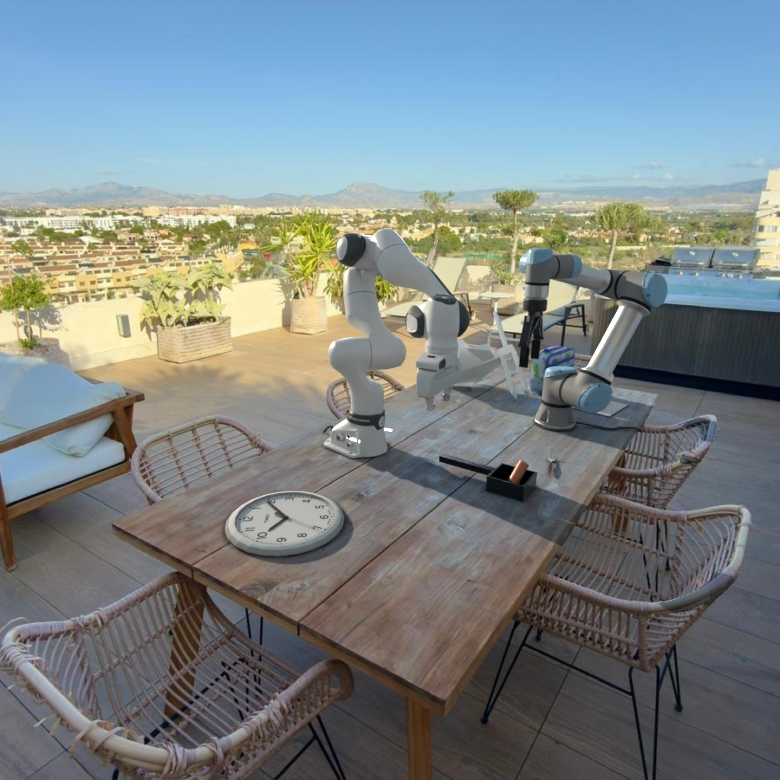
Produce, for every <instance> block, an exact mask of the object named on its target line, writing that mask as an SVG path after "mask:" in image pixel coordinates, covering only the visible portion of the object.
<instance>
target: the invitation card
mask: <svg viewBox="0 0 780 780" xmlns="http://www.w3.org/2000/svg"><path fill="white" fill-rule="evenodd" d="M628 406H629V404H627V403H623V402H618V401H614V400H611V401H610V403H609V404H608V406H607V407H606V408H605V409H603V410H602V411H600V412H597V413H595V414H596V415H600V416H604V417H608V418H609V417H611V416H613V415H614V414H616V413H617V412H619V411H621V410H623V409H624V408H626V407H628ZM573 409H575V410H579V409H578V408H576V407H573Z"/></svg>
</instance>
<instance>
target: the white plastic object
mask: <svg viewBox="0 0 780 780" xmlns="http://www.w3.org/2000/svg"><path fill="white" fill-rule="evenodd" d="M492 315H493V319H494V321H495V324H496V325H495V326H496V328H497V332H498V335H499V338H500V342H501V345H502V347H500V348H498V349H496V350H495V349H493V348H492V347H491V346H490V344H489V343H488V342H487V343H483V344H479V345H473V346H469V345H468V343H466V342H465V340H464V339H463V338H460V339H458V338H457V342H458V358H459V359H460V380H459V382H458V383H456V384H455V385H458V384H467V383H468V384H469V383H473V384H477V383H480V382H482V381H484V378H485V377H486V376H487V375H489V374H490V373H492V372H494V371H495V370H496V369H497V368H499V367H500V366H502V370H503V373H504V376H505V380H506V383H507V386H508V390H509V393H510V394H511V395H512V397H513V398H514V399H515V400H517V392H516V391H517V390H516V388H515V385H514V381H513V378H512V375H511V371H510V369H509V365H508V361H510V360H513V363H514V366H515V369H516V372H517V376H518V380H519V382H520V385H521V389H522V391H523V393H524V395H525V396H526V397H528V396H531V395H530V389H529V388H528V387H529V386H528V384H527V381H526V378H525V375H524V371H523V369H522V368H523V367H519V360H520V358H519V355H518V352H517V349H516V347H515V346H514V345H513V343H511V344H508V341H507V337H506V334H505V331H504V328H503V325H502V321H501V318H500V315H499V314H498V312H497V311H496V310H495V311H492Z"/></svg>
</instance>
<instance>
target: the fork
mask: <svg viewBox="0 0 780 780" xmlns="http://www.w3.org/2000/svg"><path fill="white" fill-rule="evenodd" d="M547 460H548V461H549V464H548V475H550V474H551V471H552V469H553V462H556V460H557V453H555V452H553V450H550V449H549V450H548V456H547Z"/></svg>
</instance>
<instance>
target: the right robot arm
mask: <svg viewBox="0 0 780 780" xmlns="http://www.w3.org/2000/svg"><path fill="white" fill-rule="evenodd" d="M518 267H519V270H520V271H521V273H523V274H524V275H525V278H524V279H525V280H524V286H522V290H524V291H523V296H524V298H523V300H522V310H523V311H525V312H528V313H527V315H524V317H523V324H522V329H521V333H520V337H519V342H518V344H517V347H518V348H520V351H519V367H521V368H526V369H528V367H529V361H530V359H531V360H532V359H539V354H540V351H541V343H542V341H544V338H545V336H544V317H543V316H544V313H545V312H547V310H548V303H549V300H548V298H549V294H550V293H549V292H550V282H551V280H553V281H556V282H560V283H564V284H567V285H572V286H575V287H579V288H582V289H583V288H584V289H587V290H589V291H591V293H592V294H595V295H599V296H602V297H605V298H607V299H610V300H613V301H615V302H616V303H617V306H618V307H617V310H616V312H615V314H614V316H613V317H612V319H611V321H610V323H609V325H608V326H607V328H606V331H605V333H604V334H603V336H602V338H601V340H600V342H599V344H598V346H597V347H596V349H595V351H594V353H593V355H592V357H591V358H590V360H589V362H588V364H587V366H584V367H581V368H580V370H579V372H578V369H577V367H575V366H574V367H567V366H555V367H549V368H547V369H546V370H545V375H544V379H543V390H542V393H541V402H540V405H539V407H538V410H537V411H536V413H535V416H534V424H535V425H536V426H537V427H539V428H542V429H544V430H549V431H556V432H567V431H572V430H574V429H575V428H576V425H580V426H586V427H591V428H597V429H600V430H601V429H602V430H606V431H616V430H636V431H637V432H639V433H640V434H641V433H642V434H643V431H642V429H640V428H639V427H637V426H617V427H606V426H602V425H596V424H591V423H586V422H581V421H576V418H575V417H576V416H575V413H574V407H576V408H578V409H577V410H580V411H581V412H586V413H589V414H596V413H597V412H600V411H602V410H603V409H605V408H606V407H607V406H608V404H609V403H610V401H612V399H613V388H612V387H611V386H612V384H613V381H612V378H611V376H612V374H613V372H614V370H615V369H616V368H617V365H618V363H619V362H620V360H621V357H622V356H623V354H624V352H625V351H626V349H627V346H628V345H629V344H630V343H629V342H630V341H631V339H632V337H633V336H634V333H635V331H636V330H637V328H638V326H639V324H640V323H641V320H642V319H643V318H644V317H646V316H647V317H648V316H649V315H650V314H651V311H652V310H653V309H657V308H660V307H661V306H662V305H663V304H664V303H665V302H666V300H667V296H668V291H669V290H668V281H667V280H666V278H665V277H664V275H662V274H661V273H657V272H653V271H640V270H639V271H638V270H629V269H610V268H605V267H599V268H594V267H591V266H588V265H583V260H582V259H581V257H580V256H579V255H577V254H572V253H571V254H570V253H568V254H563V253H554V251H553V249H552V248H547V247H545V248H544V247H543V248H542V247H532V248H530V249H528V252H525V253H523V255H521V257H520V259H519V263H518ZM530 344H531V348H530ZM530 349H531V350H530ZM576 408H575V409H576Z"/></svg>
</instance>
